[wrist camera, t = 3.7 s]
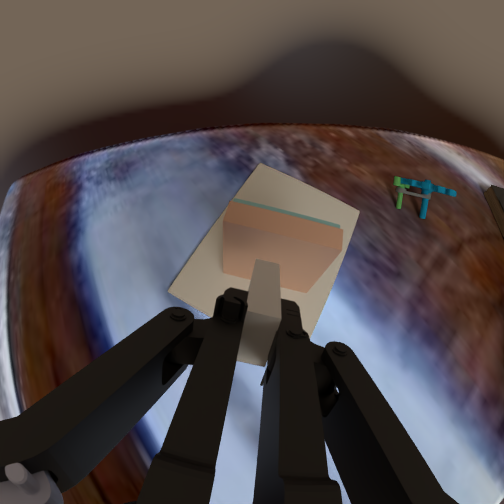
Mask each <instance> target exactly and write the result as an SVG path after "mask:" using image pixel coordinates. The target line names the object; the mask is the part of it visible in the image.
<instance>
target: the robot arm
mask: <svg viewBox="0 0 504 504" xmlns="http://www.w3.org/2000/svg"><path fill="white" fill-rule="evenodd" d="M267 360H268V361H267ZM236 361H240V362H245V363H249V364H254V365H259V366H263V367H265V365H266V362H267V368H266V370H265V373H264V376H263V379H262V381H261V384H260V385H261V386H263V397H262V410H261V422H260V434H259V446H258V457H257V467H256V478H255V488H254V498H253V504H342V496H341V489H340V486H339V484H338V482H337V481H335V480H331V479H330V478H329V475H328V467H327V457H326V449H325V442H326V444H327V447H328V449H329V451H330V454H331V456H332V459H333V461H334V463H335V466H336V468H337V471H338V473H339V475H340V478H341V480H342V483H343V485H344V487H345V490H346V492H347V495H348V497H349V499H350V502H351V504H459V503H457V502H456V501H455V500H454V499H453V498H451V497H450V496H449V495H448V494H446V493H445V492H444V491H443V489H442V488H441V486H440V484H439V483H438V481H437V479H436V478H435V476H434V474H433V473H432V471H431V470H430V468H429V466H428V465H427V463H426V461H425V460H424V458H423V457H422V455H421V453H420V452H419V450H418V449H417V447H416V446H415V444H414V442H413V441H412V439H411V438H410V436H409V435H408V433H407V431H406V430H405V428H404V427H403V425H402V424H401V422H400V421H399V419H398V417H397V416H396V414H395V413H394V411H393V410H392V408H391V407H390V405H389V404H388V402H387V401H386V399H385V398H384V396H383V395H382V393H381V392H380V390H379V389H378V387H377V386H376V384H375V383H374V381H373V380H372V378H371V377H370V375H369V374H368V372H367V371H366V369H365V368H364V366H363V365H362V364H361V362H360V361H359V359H358V358H357V356H356V355H355V353H354V352H353V350H352V349H351V348H350V347H348V346H347V345H345V344H344V343H341V342H335V341H334V342H329V343H327V344H326V346H325V348H324V347H321V346H319V345H316V344H314V343H312V342H311V341H310V338H309V335H308V333H307V332H306V331H305V330H304V329H303V327H302V320H301V314H300V308H299V306H298V305H297V303H296V302H295V301H291V300H286V299H282V298H281V291H280V267H279V264H277V263H273V262H269V261H265V260H261V259H256V260H255V265H254V269H253V273H252V277H251V281H250V285H249V289H248V291H245V290H240V289H236V288H232V287H230V288H228V289H226V290H225V292H224V294H223V295H220V296H218V297H217V298H216V303H215V308H214V313H213V317H212V318H209V319H194V315H193V314H192V313H191V312H190V311H189V310H187V309H184V308H181V307H169V308H167V309H165V310H163V311H162V312H161V313H159V314H158V315H157V316H155V317H154V318H152V319H151V320H150V321H148V322H147V323H145V324H144V325H143V326H141V327H140V328H138V329H137V330H136V331H134V332H133V333H132V334H130V335H129V336H127V337H126V338H125V339H123V340H122V341H120V342H119V343H118V344H116V345H115V346H113V347H112V348H111V349H109V350H108V351H107V352H105V353H104V354H102V355H101V356H100V357H98V358H97V359H96V360H94V361H93V362H91V363H90V364H89V365H87V366H86V367H84V368H83V369H82V370H80V371H79V372H78V373H76V374H75V375H73V376H72V377H71V378H69V379H68V380H67V381H65V382H64V383H62V384H61V385H60V386H58V387H57V388H56V389H54V390H53V391H51V392H50V393H49V394H47V395H46V396H45V397H43V398H42V399H41V400H39V401H38V402H36V403H35V404H34V405H32V406H31V407H30V408H28V409H27V410H25V411H24V412H23V413H21V414H20V415H19V416H17V417H14V418H10V419H6V420H2V421H0V504H63V498H62V495H61V493H63V492H65V491H67V490H68V489H70V488H72V487H73V486H75V485H76V484H77V483H79V482H80V481H81V480H82V479H83V478H84V477H86V476H87V475H88V474H89V473H90V471H91V470H92V469H93V468H94V467H95V466H96V465H97V464H98V463H99V462H100V461H101V460H102V459H103V458H104V457H105V456H106V455H107V454H108V453H109V452H110V451H111V450H112V449H113V448H114V447H115V446H116V445H117V444H118V443H119V441H120V440H121V439H122V438H123V437H124V436H125V435H126V434H127V433H128V432H129V431H130V430H131V429H132V428H133V427H134V426H135V424H136V423H137V422H138V421H139V420H140V419H141V418H142V417H143V416H144V415H145V414H146V413H147V411H148V410H149V409H150V408H151V407H152V406H153V405H154V404H155V403H156V402H157V401H158V399H159V398H160V397H161V396H162V395H163V394H164V393H165V392H166V391H167V390H168V388H169V387H170V386H171V385H172V384H173V383H174V382H175V381H176V379H177V378H178V377H179V376H180V375H181V374H182V373H183V372H184V371H185V369H186V368H187V366H188V364H189V365H193V367H192V370H191V372H190V375H189V378H188V380H187V383H186V385H185V388H184V390H183V393H182V396H181V398H180V401H179V403H178V406H177V409H176V411H175V414H174V416H173V419H172V422H171V424H170V427H169V430H168V432H167V435H166V438H165V440H164V443H163V445H162V448H161V450H160V452H159V453H157V454H156V455H155V457H154V458H153V461H152V463H151V465H150V468H149V471H148V473H147V476H146V478H145V481H144V484H143V486H142V489H141V492H140V494H139V497H138V500H137V501H134V502H128V503H124V504H209V502H210V497H211V492H212V487H213V482H214V477H215V466H216V460H217V456H218V451H219V446H220V441H221V436H222V431H223V426H224V421H225V416H226V411H227V406H228V401H229V396H230V391H231V386H232V381H233V376H234V371H235V366H236ZM263 383H264V384H263ZM336 388H338V390H339V393H338V392H337V390H336ZM324 439H325V440H324Z"/></svg>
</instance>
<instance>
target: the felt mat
mask: <svg viewBox="0 0 504 504" xmlns="http://www.w3.org/2000/svg"><path fill="white" fill-rule="evenodd" d="M234 198H237V199H241V200H245V201H250V202H254V203H258V204H262V205H266V206H271V207H275V208H279V209H283V210H287V211H290V212H294V213H298V214H302V215H306V216H310V217H313V218H317V219H321V220H324V221H328V222H332V223H335V224H339V225H340V229H343V244H342V251H341V253H340V254H339V255H338V256H337V258H336V259H335V260H334V261H333V262H332V264H331V265H330V266H329V267H328V268H327V270H326V271H325V272H324V273H323V274H322V276H321V277H320V278H319V279H318V280H317V281H316V283H315V284H314V285H313V286H312V287H311V288H310V290H309V291H308V292H307V293H303V292H299V291H295V290H290V289H286V288H282V287H280V291H281V298H282V299H286V300H291V301H295V302H296V303H297V305H298V306H299V308H300V314H301V320H302V327H303V329H304V330H305V331H306V332H307V333H308V335H309V338H310V337H311V335H312V333H313V330H314V328H315V326H316V324H317V321H318V319H319V317H320V315H321V312H322V310H323V308H324V305H325V303H326V301H327V298H328V296H329V293H330V291H331V289H332V286H333V284H334V281H335V279H336V276H337V274H338V271H339V268H340V266H341V263H342V261H343V258H344V255H345V253H346V250H347V247H348V244H349V242H350V239H351V236H352V233H353V230H354V227H355V225H356V222H357V219H358V216H359V213H360V211H358V210H356V209H355V208H353V207H351V206H349V205H347V204H345V203H343V202H341V201H339V200H338V199H336V198H334V197H332V196H330V195H328V194H326V193H324V192H322V191H320V190H318V189H316V188H314V187H312V186H310V185H308V184H305V183H303V182H301V181H299V180H297V179H295V178H293V177H291V176H288V175H286V174H284V173H282V172H280V171H277V170H275V169H273V168H271V167H268V166H266V165H264V164H262V163H260V164H259V165H258V166H257V168H256V169H255V170H254V171H253V173H252V174H251V175H250V177H249V178H248V179H247V181H246V182H245V183H244V185H243V186H242V187H241V189H240V190H239V191H238V193H237V194H236V195H235V197H234ZM234 198H233V199H234ZM233 199H232V201H233ZM227 207H228V206H227ZM227 207H226V209H225V210H224V211H223V213H222V214H221V215H220V217H219V218H218V220H217V221H216V222H215V224H214V225H213V226H212V228H211V229H210V231H209V232H208V233H207V235H206V236H205V238H204V239H203V240H202V242H201V243H200V245H199V246H198V248H197V249H196V250H195V252H194V253H193V255H192V256H191V258H190V259H189V260H188V262H187V263H186V265H185V266H184V268H183V269H182V271H181V272H180V274H179V275H178V277H177V278H176V279H175V281H174V282H173V284H172V285H171V287H170V288H169V290H168V292H169V293H171V294H172V295H174V296H175V297H177V298H179V299H180V300H182V301H184V302H185V303H187V304H189V305H190V306H192V307H194V308H195V309H197V310H199V311H200V312H202V313H204V314H206V315H207V316H209V317H211V318H212V317H213V313H214V308H215V303H216V298H217V297H218V296H220V295H223V294H224V292H225V290H226V289H228V288H230V287H232V288H236V289H240V290H245V291H248V289H249V285H250V281H251V280H249V279H245V278H241V277H237V276H233V275H229V274H225V273H223V219H224V216H225V213H226V210H227Z"/></svg>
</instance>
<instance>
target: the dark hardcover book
mask: <svg viewBox="0 0 504 504" xmlns="http://www.w3.org/2000/svg"><path fill="white" fill-rule="evenodd" d="M483 194H484V196H485V198H486V200H487V202H488V204H489V206H490V208H491V210H492V213H493V215H494V217H495V219H496V222H497V224H498V226H499V228H500V230H501V233H502V235H503V238H504V189H503V188H500V187H497V186H494V185H491V187H489V188H488V190H487V191H486V192H484V193H483Z"/></svg>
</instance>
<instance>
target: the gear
mask: <svg viewBox="0 0 504 504" xmlns="http://www.w3.org/2000/svg"><path fill="white" fill-rule="evenodd" d="M400 183H401V184H400ZM393 185H396V186H398V187H396V192H398V199H397V205H396V208H398V209H401V204H402V197H403V193H404V194H409V195H413V196H418V197H422V204H421V210H420V216H419V217H420V218H423V219H425V217H426V212H427V206H428V199H430V198H431V192H433V191H434V192H438V193H442V194H446V195H450V196H454V197H456V191H454V190H451V189H446V188H445V187H441V186H435V185H434V184H431V181H430V180H425V182H423V181H422V182H420V181H416V180H412V179H405V178H401V177H397V176H394V183H393ZM410 186H413V187H417V188H421V189H422V191H421V194H417V193H413V192H408V191H406V189H405V188H410Z"/></svg>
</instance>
